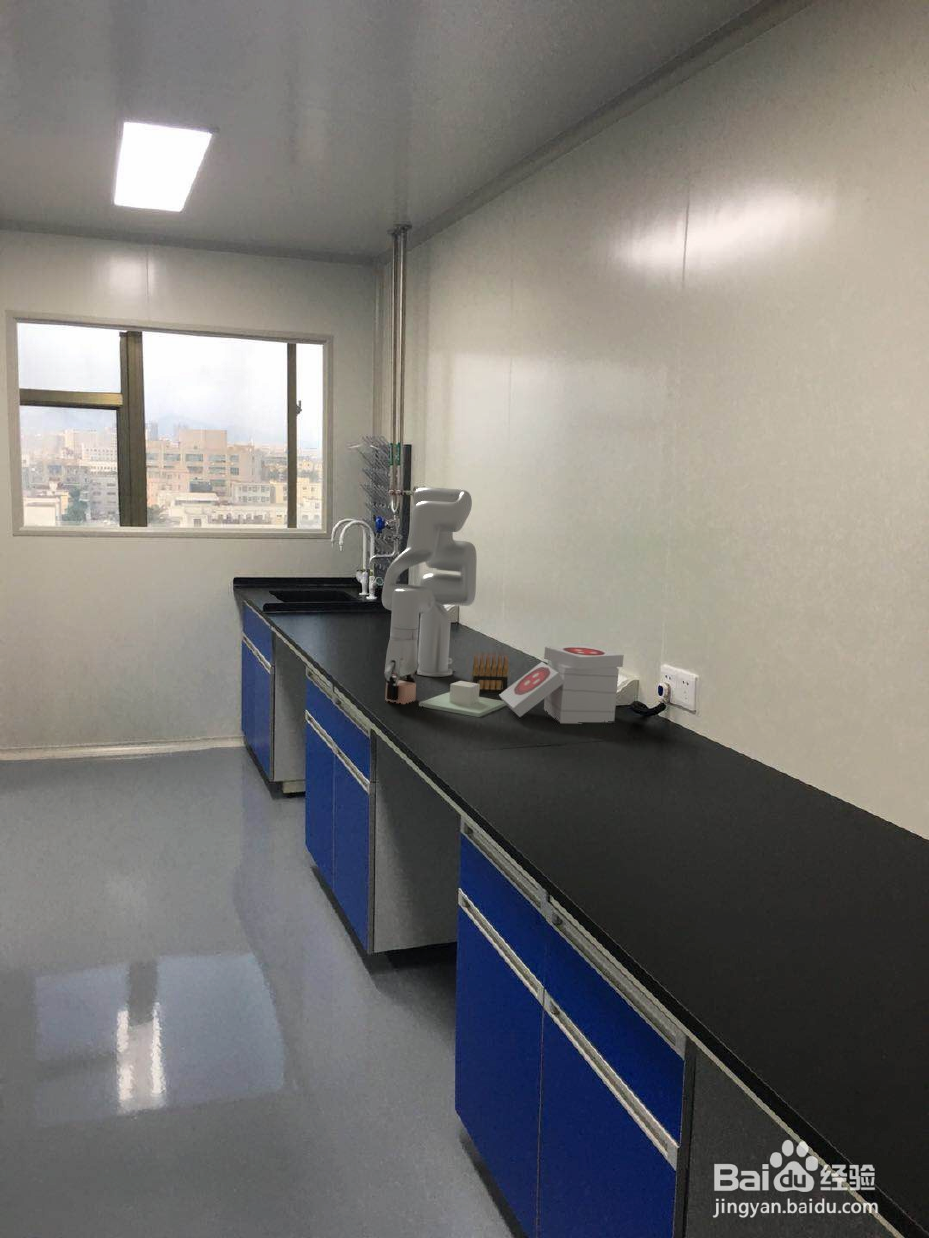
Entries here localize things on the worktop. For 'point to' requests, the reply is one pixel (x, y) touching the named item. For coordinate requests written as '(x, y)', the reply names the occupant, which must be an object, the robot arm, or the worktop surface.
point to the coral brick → (404, 692)
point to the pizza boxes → (570, 685)
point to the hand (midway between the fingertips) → (400, 696)
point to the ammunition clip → (491, 674)
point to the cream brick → (464, 693)
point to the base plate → (473, 710)
